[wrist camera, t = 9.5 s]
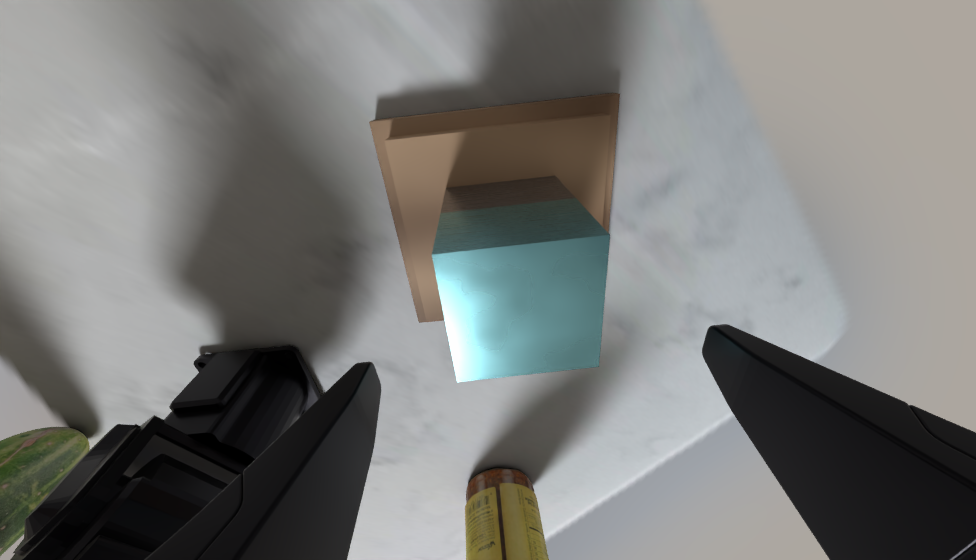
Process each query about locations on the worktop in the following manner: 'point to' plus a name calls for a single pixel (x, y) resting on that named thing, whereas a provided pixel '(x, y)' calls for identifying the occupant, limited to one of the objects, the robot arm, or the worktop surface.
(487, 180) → the walnut stand
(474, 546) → the sauce bottle
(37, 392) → the worktop surface
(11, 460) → the vegetable
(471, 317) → the teal and grey block
